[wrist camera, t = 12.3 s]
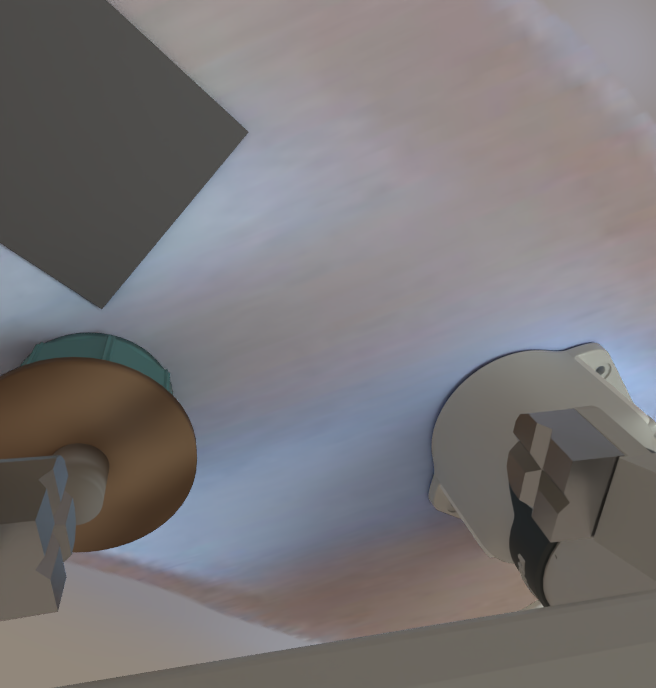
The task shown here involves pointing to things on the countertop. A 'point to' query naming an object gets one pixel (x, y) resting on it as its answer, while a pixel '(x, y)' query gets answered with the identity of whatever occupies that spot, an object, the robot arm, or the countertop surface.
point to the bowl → (102, 353)
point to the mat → (96, 141)
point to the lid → (102, 443)
